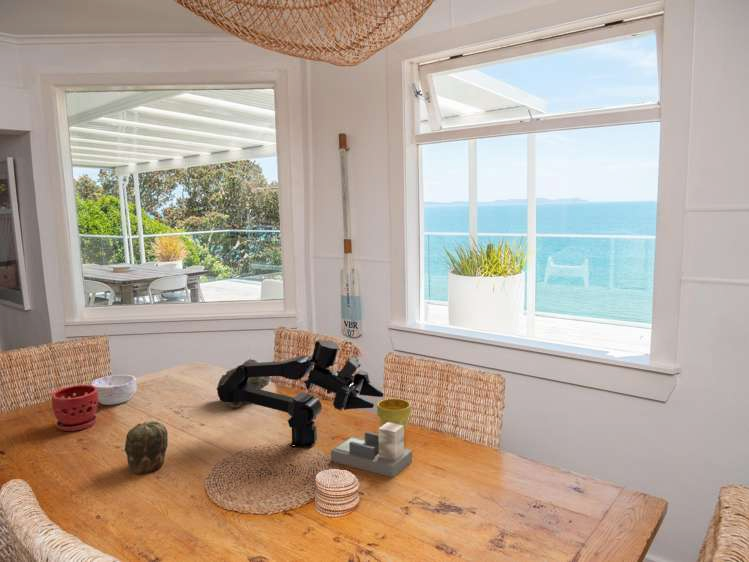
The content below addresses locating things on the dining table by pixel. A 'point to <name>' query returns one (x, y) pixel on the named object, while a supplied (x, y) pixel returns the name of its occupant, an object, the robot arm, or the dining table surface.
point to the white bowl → (115, 388)
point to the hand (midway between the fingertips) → (378, 400)
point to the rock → (253, 382)
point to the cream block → (391, 441)
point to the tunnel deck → (368, 455)
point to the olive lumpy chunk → (146, 447)
